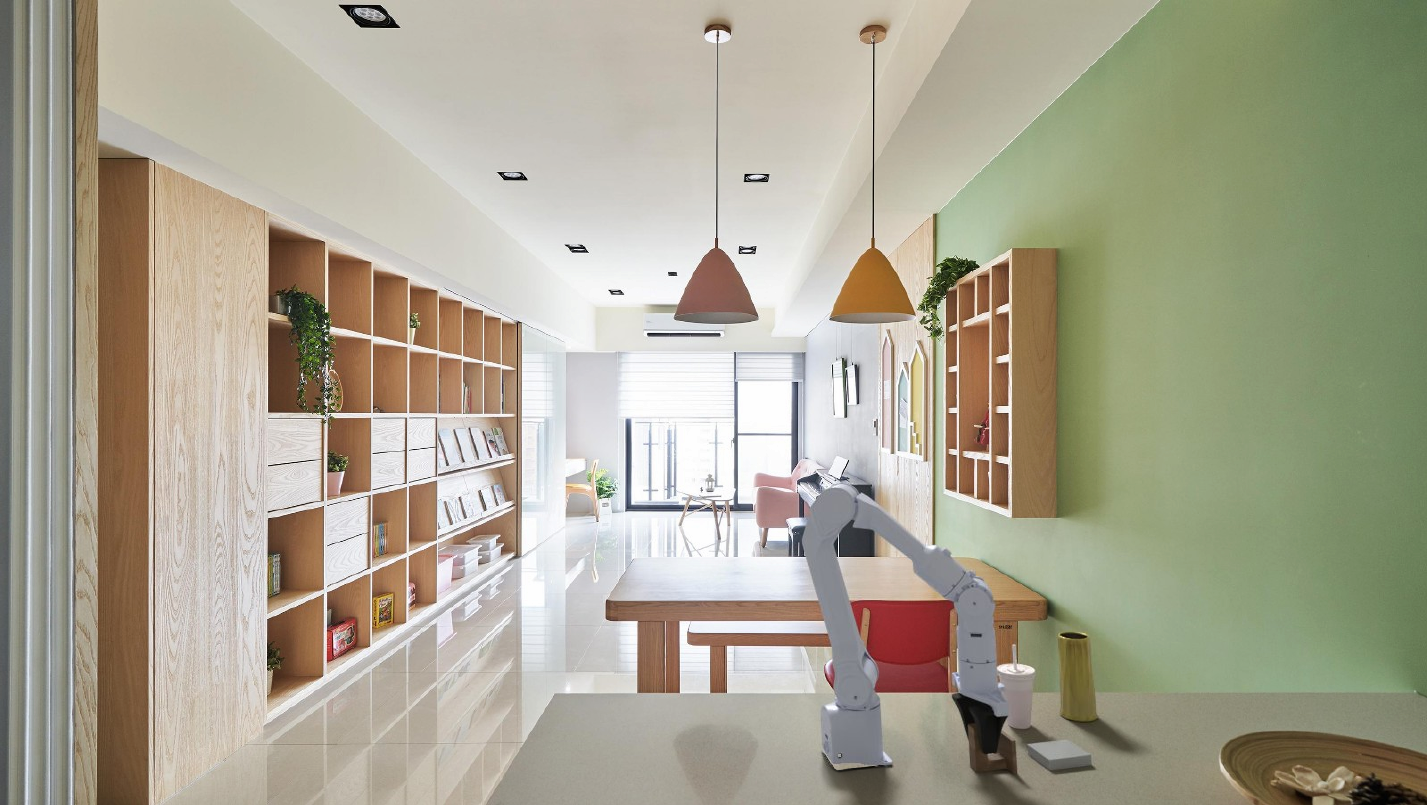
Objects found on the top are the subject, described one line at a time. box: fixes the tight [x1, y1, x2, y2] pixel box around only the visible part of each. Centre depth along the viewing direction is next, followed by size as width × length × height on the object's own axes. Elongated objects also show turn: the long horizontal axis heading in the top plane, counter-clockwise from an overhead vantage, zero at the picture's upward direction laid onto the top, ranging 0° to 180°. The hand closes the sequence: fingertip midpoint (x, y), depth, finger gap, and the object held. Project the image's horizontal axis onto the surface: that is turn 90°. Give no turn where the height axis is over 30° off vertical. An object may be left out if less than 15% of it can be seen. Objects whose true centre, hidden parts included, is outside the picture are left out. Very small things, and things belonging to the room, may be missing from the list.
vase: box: [1057, 631, 1099, 723], centre depth 136 cm, size 6×6×14 cm
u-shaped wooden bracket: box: [968, 723, 1018, 775], centre depth 118 cm, size 6×6×6 cm
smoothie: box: [997, 644, 1037, 730], centre depth 134 cm, size 6×6×14 cm
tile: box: [1026, 738, 1093, 771], centre depth 119 cm, size 2×6×7 cm
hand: (982, 746), depth 118 cm, fingers open, 4 cm apart
